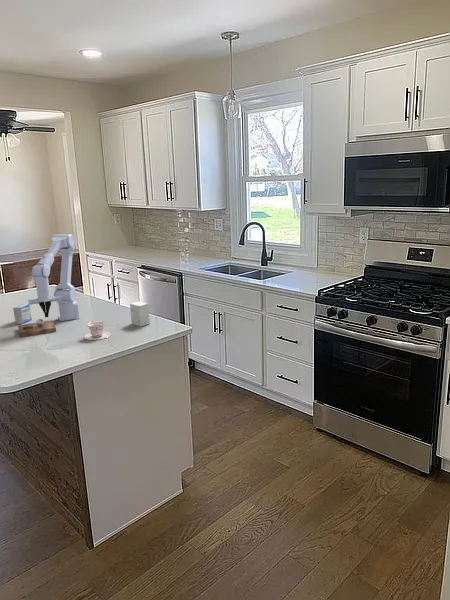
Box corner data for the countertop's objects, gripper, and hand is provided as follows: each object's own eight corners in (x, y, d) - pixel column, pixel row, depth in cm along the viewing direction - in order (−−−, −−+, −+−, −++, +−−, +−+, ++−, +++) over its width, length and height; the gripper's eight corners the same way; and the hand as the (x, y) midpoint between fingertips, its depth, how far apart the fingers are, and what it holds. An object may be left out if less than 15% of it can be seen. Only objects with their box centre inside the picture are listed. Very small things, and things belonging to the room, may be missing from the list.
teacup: (83, 334, 217) (81, 322, 215) (109, 331, 221) (107, 318, 219) (85, 342, 206) (83, 329, 204) (112, 338, 210) (111, 325, 208)
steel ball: (45, 319, 227) (38, 317, 225) (45, 321, 224) (37, 318, 222) (42, 326, 227) (34, 323, 225) (41, 328, 224) (34, 325, 222)
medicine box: (22, 324, 236) (20, 307, 234) (15, 324, 237) (12, 307, 235) (32, 319, 243) (30, 303, 241) (24, 319, 244) (22, 303, 242)
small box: (150, 324, 230) (148, 303, 227) (141, 326, 226) (139, 305, 223) (140, 321, 235) (138, 301, 232) (131, 323, 231) (129, 303, 228)
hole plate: (53, 324, 234) (52, 320, 234) (56, 331, 222) (55, 327, 221) (18, 329, 227) (18, 325, 227) (20, 337, 215) (19, 333, 215)
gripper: (27, 293, 215) (31, 321, 219) (60, 289, 221) (63, 316, 225) (26, 290, 222) (30, 317, 225) (58, 286, 228) (61, 313, 231)
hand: (46, 316), depth 225 cm, fingers closed
